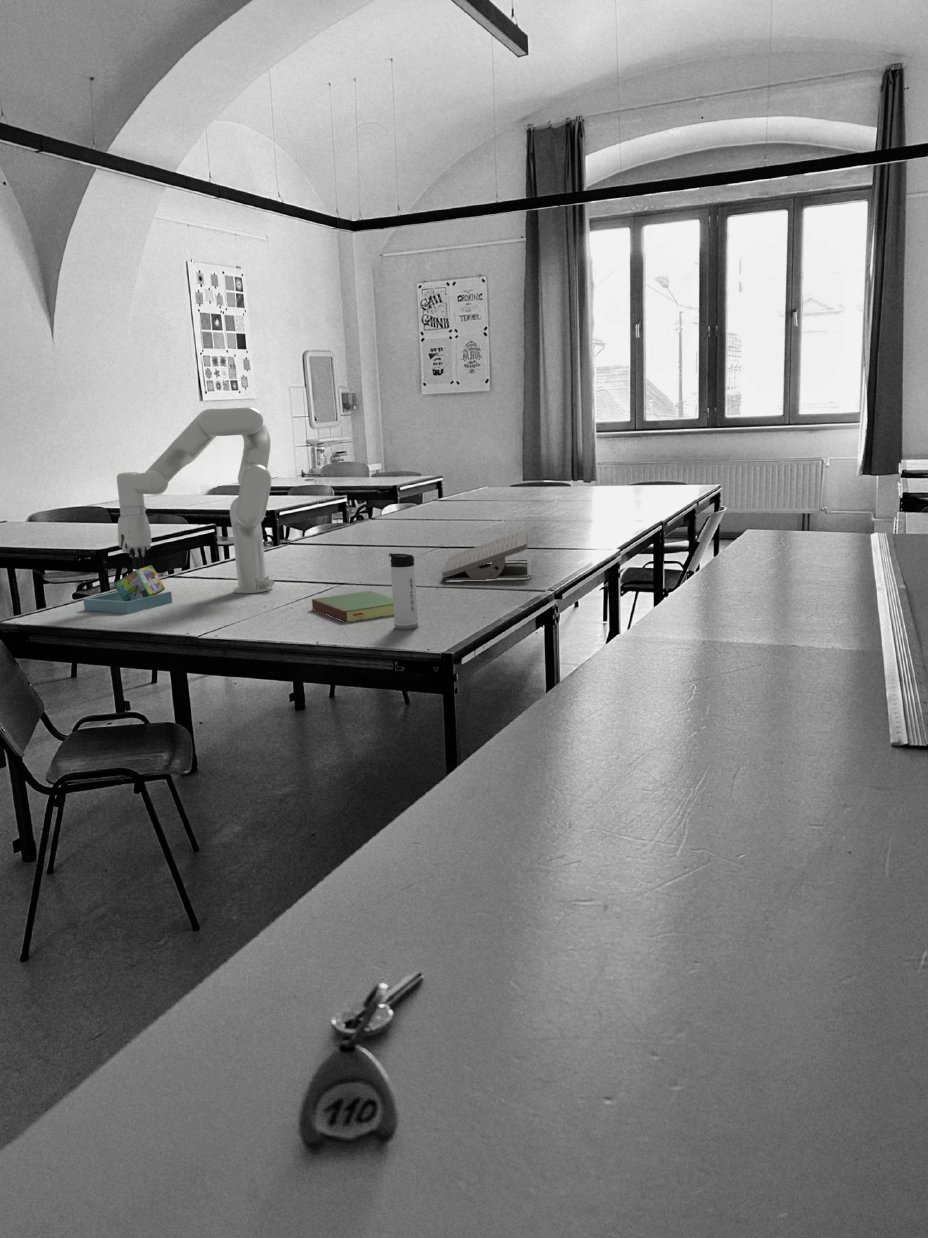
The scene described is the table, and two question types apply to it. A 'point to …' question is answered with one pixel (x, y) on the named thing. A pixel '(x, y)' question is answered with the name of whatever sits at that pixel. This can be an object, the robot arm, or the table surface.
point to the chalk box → (139, 584)
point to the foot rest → (487, 559)
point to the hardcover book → (355, 606)
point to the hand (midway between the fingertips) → (138, 568)
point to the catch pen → (125, 603)
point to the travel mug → (404, 591)
